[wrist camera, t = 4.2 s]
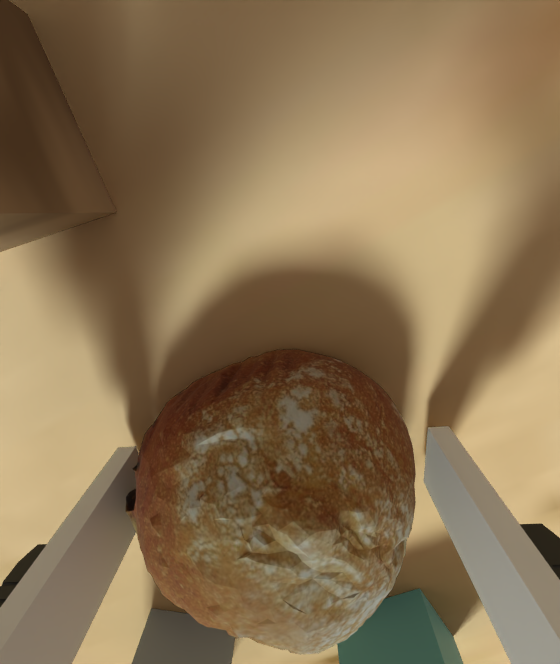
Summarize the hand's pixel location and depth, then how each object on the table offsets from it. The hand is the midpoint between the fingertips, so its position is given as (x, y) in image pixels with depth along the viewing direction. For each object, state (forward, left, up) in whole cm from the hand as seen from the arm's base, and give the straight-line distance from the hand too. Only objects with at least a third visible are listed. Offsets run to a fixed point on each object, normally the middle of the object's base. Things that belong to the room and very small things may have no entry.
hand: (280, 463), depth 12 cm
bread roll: (0, 0, -1) cm, 1 cm away
